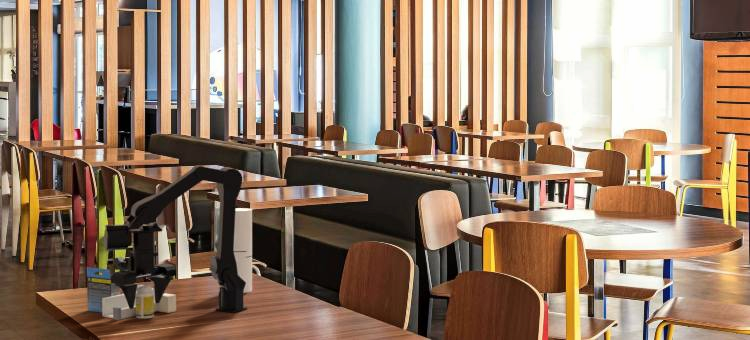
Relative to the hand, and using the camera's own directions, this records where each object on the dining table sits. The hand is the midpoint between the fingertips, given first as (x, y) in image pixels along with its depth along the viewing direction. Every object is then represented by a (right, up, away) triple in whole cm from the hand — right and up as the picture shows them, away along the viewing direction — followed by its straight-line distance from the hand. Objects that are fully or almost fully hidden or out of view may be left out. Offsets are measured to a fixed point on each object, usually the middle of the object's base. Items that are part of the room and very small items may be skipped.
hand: (144, 305), depth 285 cm
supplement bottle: (0, -3, 0) cm, 3 cm away
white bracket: (-2, -3, +5) cm, 6 cm away
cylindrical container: (+21, -1, +38) cm, 43 cm away
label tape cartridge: (-13, -3, +7) cm, 15 cm away
